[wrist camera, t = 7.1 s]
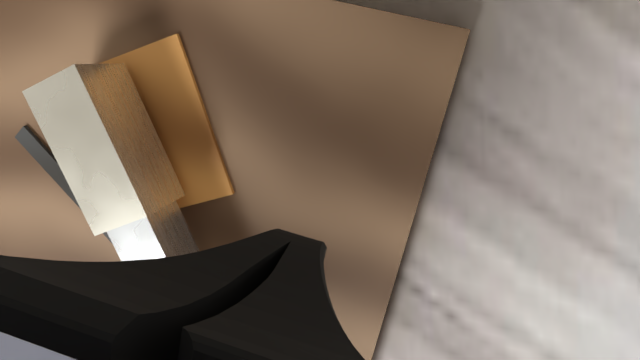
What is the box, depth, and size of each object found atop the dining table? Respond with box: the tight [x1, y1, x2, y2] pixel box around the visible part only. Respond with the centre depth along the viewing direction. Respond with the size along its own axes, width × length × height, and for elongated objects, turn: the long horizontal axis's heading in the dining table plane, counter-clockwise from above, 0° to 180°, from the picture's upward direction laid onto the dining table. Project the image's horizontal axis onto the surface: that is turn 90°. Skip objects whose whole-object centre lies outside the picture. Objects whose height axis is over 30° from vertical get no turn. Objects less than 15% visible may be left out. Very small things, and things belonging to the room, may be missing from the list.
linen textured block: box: [22, 63, 199, 261], centre depth 19 cm, size 18×4×4 cm, turn 22°
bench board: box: [0, 0, 470, 360], centre depth 22 cm, size 20×24×2 cm
